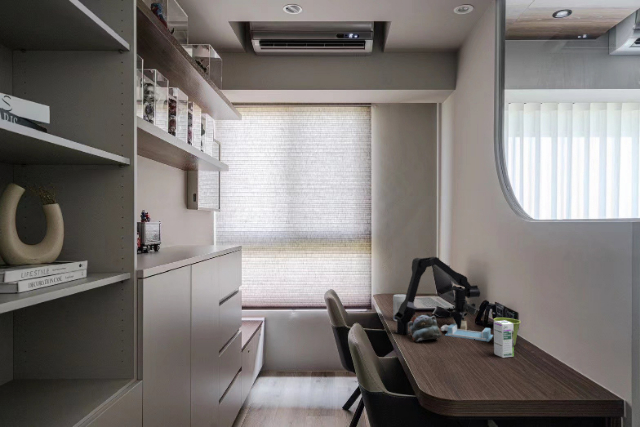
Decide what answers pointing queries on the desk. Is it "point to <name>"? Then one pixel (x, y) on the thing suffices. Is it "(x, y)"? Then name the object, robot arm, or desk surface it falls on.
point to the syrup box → (503, 339)
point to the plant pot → (515, 325)
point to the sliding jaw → (449, 328)
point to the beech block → (463, 325)
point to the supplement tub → (397, 303)
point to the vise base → (472, 334)
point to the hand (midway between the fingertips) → (460, 327)
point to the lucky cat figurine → (424, 328)
